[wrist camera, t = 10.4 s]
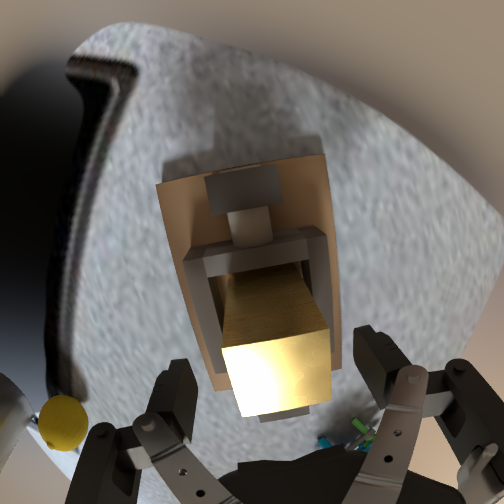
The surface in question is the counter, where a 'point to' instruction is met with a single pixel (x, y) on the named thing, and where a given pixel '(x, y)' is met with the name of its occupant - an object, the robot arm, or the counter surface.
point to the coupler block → (275, 341)
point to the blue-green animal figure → (362, 442)
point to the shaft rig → (251, 245)
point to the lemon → (63, 423)
